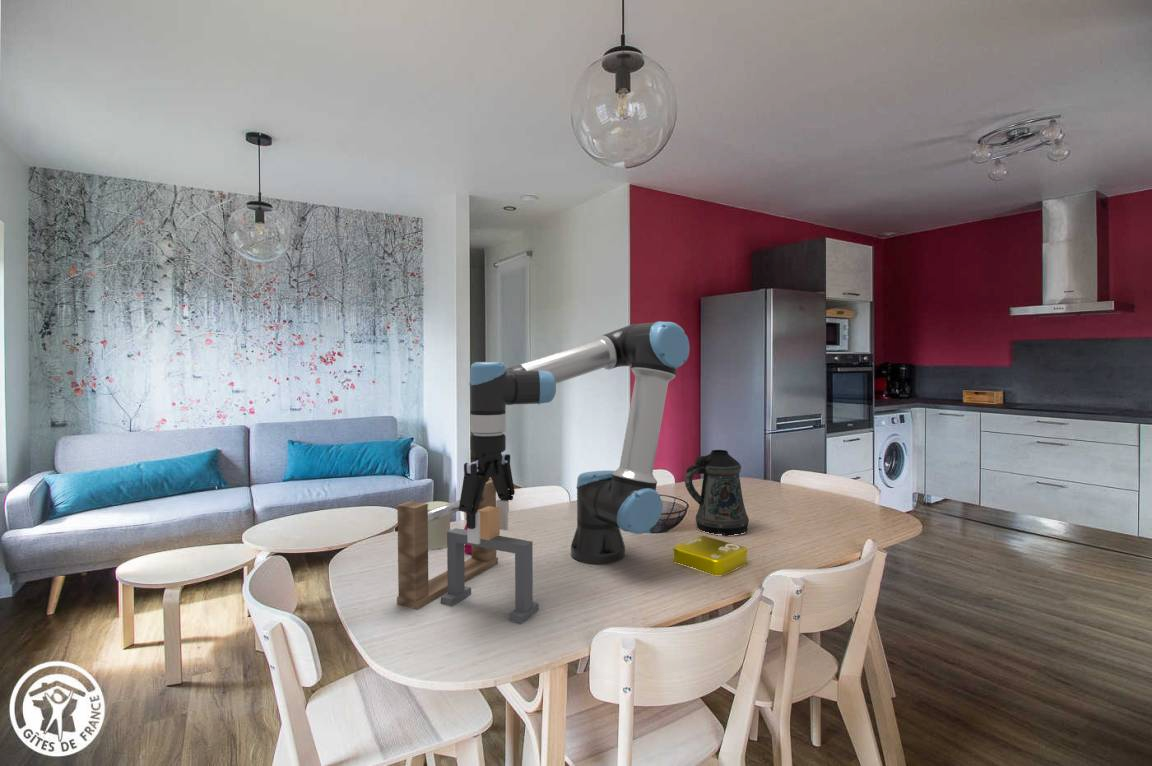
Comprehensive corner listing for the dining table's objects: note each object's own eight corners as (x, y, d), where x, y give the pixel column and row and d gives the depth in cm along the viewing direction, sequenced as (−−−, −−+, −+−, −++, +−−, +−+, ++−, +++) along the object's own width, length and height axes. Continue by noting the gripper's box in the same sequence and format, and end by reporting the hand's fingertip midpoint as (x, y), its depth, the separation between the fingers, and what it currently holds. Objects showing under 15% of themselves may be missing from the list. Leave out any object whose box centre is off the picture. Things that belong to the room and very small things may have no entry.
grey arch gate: (538, 610, 117) (538, 511, 116) (521, 624, 111) (520, 519, 110) (460, 591, 127) (460, 499, 126) (440, 603, 120) (439, 507, 119)
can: (421, 539, 163) (421, 500, 163) (453, 538, 164) (452, 499, 164) (415, 550, 154) (415, 508, 154) (448, 549, 155) (448, 507, 154)
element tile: (701, 549, 156) (701, 533, 156) (749, 563, 145) (750, 546, 145) (670, 562, 146) (670, 545, 145) (719, 579, 135) (719, 560, 135)
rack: (497, 563, 144) (497, 480, 143) (417, 609, 117) (416, 508, 117) (479, 559, 147) (478, 478, 146) (396, 603, 120) (395, 505, 119)
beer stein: (759, 530, 172) (760, 452, 171) (718, 542, 161) (719, 458, 160) (718, 518, 186) (719, 445, 185) (678, 527, 175) (678, 450, 174)
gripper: (503, 426, 129) (503, 520, 130) (439, 438, 109) (440, 548, 110) (530, 428, 126) (530, 524, 126) (469, 441, 106) (470, 554, 106)
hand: (488, 535), depth 118 cm, fingers open, 10 cm apart
